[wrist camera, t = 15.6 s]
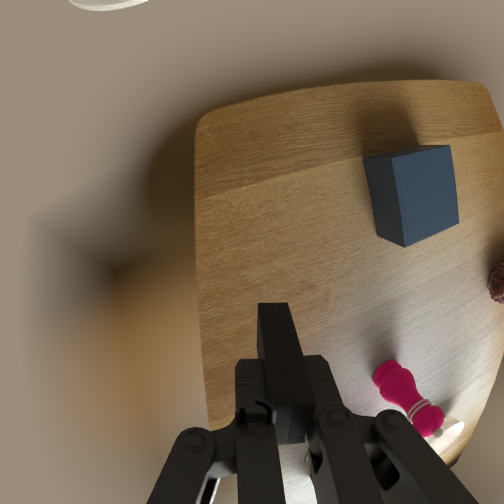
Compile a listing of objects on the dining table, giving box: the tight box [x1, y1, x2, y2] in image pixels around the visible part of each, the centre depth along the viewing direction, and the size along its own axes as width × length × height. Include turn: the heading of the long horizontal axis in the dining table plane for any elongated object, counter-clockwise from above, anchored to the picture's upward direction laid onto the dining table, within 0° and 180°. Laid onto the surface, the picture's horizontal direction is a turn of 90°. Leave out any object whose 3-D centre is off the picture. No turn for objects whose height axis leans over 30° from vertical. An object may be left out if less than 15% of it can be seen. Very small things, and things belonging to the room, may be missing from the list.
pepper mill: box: [373, 360, 444, 438], centre depth 42 cm, size 7×7×20 cm
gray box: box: [363, 145, 459, 248], centre depth 37 cm, size 7×12×12 cm
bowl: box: [423, 417, 464, 455], centre depth 62 cm, size 18×18×7 cm
